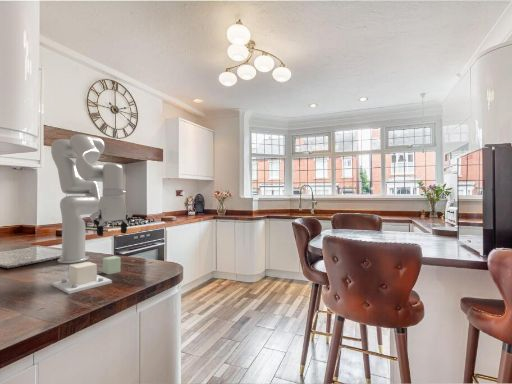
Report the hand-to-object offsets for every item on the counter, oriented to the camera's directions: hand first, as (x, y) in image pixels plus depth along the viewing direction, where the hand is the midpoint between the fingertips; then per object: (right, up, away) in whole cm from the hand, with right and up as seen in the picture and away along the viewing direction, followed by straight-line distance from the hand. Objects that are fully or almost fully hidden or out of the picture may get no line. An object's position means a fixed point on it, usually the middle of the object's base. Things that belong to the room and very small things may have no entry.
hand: (112, 234), depth 115 cm
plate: (-3, -16, -15) cm, 22 cm away
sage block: (0, -16, 0) cm, 16 cm away
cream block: (-3, -15, -15) cm, 21 cm away
